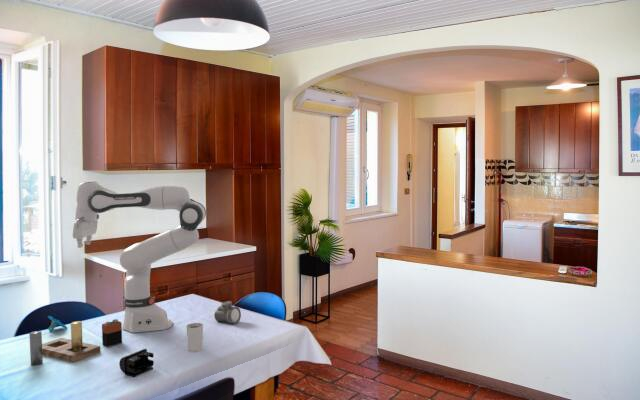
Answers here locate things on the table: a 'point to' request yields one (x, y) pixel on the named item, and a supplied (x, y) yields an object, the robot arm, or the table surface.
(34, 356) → the steel leg
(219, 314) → the pipe fitting
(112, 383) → the table surface
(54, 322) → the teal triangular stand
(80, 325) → the brass leg
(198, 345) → the grey cup
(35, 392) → the table surface
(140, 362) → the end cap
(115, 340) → the battery
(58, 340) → the hole plate
